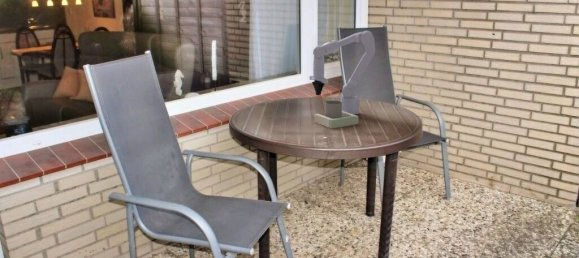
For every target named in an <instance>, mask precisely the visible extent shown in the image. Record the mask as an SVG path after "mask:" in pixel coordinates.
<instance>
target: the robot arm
mask: <svg viewBox="0 0 579 258" xmlns="http://www.w3.org/2000/svg"><path fill="white" fill-rule="evenodd" d="M360 42H361V43H362V45H363V47H364V51H365V52H364V54H363V55H362V57H361V58H360V60H359V62H358V64H357V65H356V67H355V69H354V71H353V73H352V74H351V76H350V78H349V79H348V81H347V82H346V83H344V85H342V90H341V94H342V95H340V97H341V98H340V101H341V102H342V111H344V112H347V113H350V114H353V115H359V114H361V112H360V105H361V104H360V98H359V96H357V95H355V89H356V88H357V84H358V83H359V81H360V80H361V78H362V76H363V74H364V73H365V71H366V69H367V67H368V66H369V64H370V62H371V61H372V59H373V57H374V56H375V53H376V44H375V43H376V40H375V36H374V34H373V33H372V31H370V30H364V31H360V32H359V31H358V32H356V33H353V34H351V35H349V36H346V37H345V38H342V39H340V40H335V39H333V40H332V39H329V40H328V41H327V42H326V43H320V45H318V46H316V47H314V49H313V50H312V51H313V52H312V53H313V64H312V67H313V68H312V75H309V81H310V80H311V81H312V82H311V84H312V86H313V88H314V91H315V96H321V94H322V91H323V87H325V84H329V79H327V78H326V77H325V55H327V56H328V55H331V54H332V53H336V52H338V51H339V50H340V48H341V47H343V46H346V45H349V44H352V43H359V44H360Z"/></svg>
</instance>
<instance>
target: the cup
mask: <svg viewBox="0 0 579 258" xmlns="http://www.w3.org/2000/svg"><path fill="white" fill-rule="evenodd" d="M324 116H326V117H329V118H331V119H335V118H341V117H342V102H341V100H327V101H325V102H324Z"/></svg>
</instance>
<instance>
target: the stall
mask: <svg viewBox="0 0 579 258" xmlns="http://www.w3.org/2000/svg"><path fill="white" fill-rule="evenodd" d="M314 123H316V124H319V125H321V126H323V127H326V128H328V129H332V130H333V129H337V128H343V127H348V126H349V127H350V126H355V125H358V124H359V116H358V114H350V113H347V112H344V111H342V117H341V118H335V119H331V118H329V117H326V116H325V115H322V114H320V113H314Z"/></svg>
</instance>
